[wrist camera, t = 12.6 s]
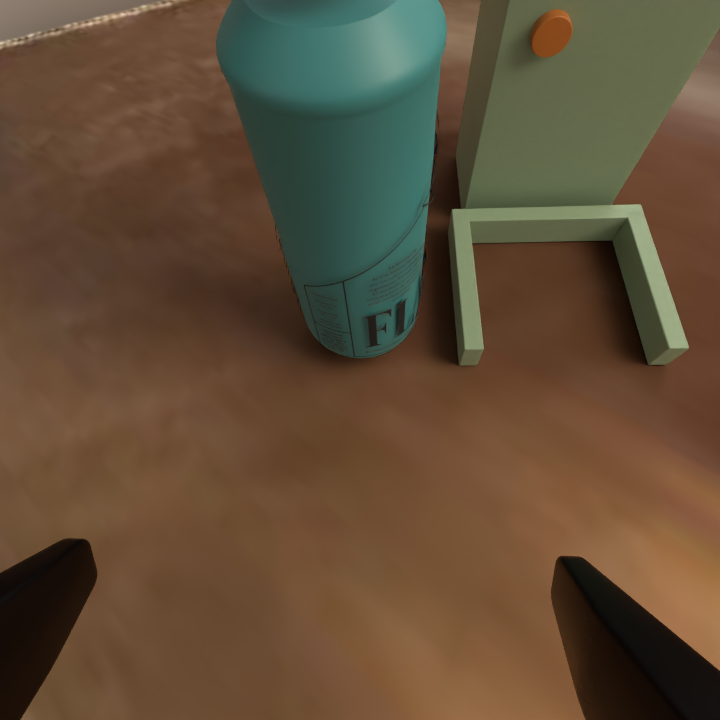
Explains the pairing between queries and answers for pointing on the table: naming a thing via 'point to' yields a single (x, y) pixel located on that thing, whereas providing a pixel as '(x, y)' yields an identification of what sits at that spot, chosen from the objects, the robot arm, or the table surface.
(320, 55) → the beverage bottle
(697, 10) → the drink station
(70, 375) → the table surface
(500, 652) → the table surface
